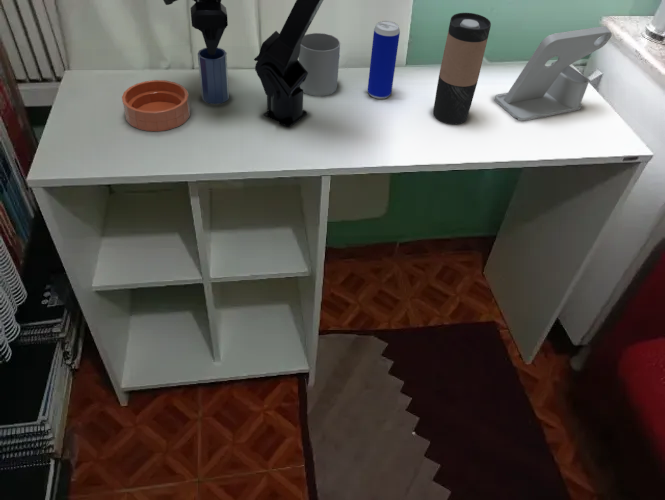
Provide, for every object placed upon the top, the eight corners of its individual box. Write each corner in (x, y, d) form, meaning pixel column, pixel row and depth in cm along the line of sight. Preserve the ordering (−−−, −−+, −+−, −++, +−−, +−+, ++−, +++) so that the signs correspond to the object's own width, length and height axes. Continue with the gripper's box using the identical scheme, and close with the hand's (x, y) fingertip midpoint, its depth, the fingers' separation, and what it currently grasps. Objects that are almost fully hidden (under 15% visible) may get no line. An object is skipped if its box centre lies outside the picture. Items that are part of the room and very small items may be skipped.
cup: (332, 98, 129) (335, 53, 122) (294, 92, 130) (295, 47, 123) (339, 79, 135) (343, 36, 128) (303, 74, 136) (304, 30, 129)
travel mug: (472, 111, 129) (496, 18, 115) (462, 129, 123) (485, 33, 110) (438, 102, 131) (457, 8, 117) (426, 118, 125) (445, 23, 112)
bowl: (203, 114, 122) (201, 93, 119) (158, 141, 114) (154, 120, 111) (159, 93, 126) (156, 73, 123) (112, 118, 119) (108, 97, 115)
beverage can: (395, 92, 132) (405, 25, 122) (383, 102, 129) (392, 33, 119) (374, 85, 134) (382, 17, 124) (362, 94, 131) (369, 26, 121)
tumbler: (234, 98, 127) (231, 52, 120) (216, 108, 123) (213, 62, 116) (214, 89, 129) (211, 44, 122) (196, 99, 125) (191, 53, 118)
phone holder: (555, 86, 139) (583, 7, 126) (585, 109, 132) (617, 28, 120) (492, 98, 133) (513, 16, 121) (519, 122, 127) (545, 38, 114)
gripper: (157, -60, 113) (167, 23, 123) (156, -22, 100) (167, 67, 110) (218, -60, 115) (223, 22, 125) (225, -22, 102) (230, 66, 112)
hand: (210, 43), depth 118 cm, fingers open, 9 cm apart
